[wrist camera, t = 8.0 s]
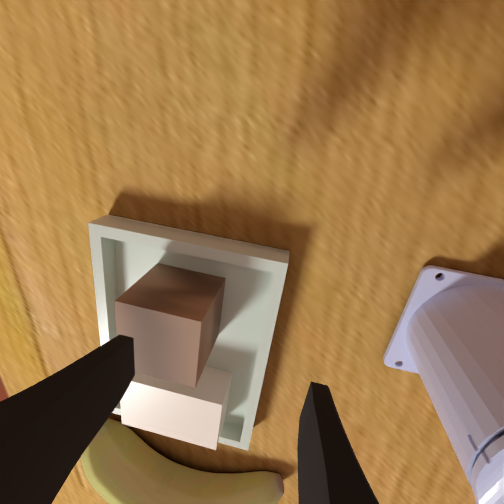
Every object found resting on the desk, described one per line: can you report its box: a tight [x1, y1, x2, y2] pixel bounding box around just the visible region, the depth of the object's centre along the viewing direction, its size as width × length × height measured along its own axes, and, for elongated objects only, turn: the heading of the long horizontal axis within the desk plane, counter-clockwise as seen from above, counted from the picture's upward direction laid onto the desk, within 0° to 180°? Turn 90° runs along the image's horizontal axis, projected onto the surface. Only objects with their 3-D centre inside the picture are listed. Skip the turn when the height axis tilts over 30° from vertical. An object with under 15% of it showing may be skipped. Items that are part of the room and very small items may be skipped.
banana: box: [81, 418, 284, 504], centre depth 28 cm, size 14×6×20 cm
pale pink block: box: [120, 366, 232, 450], centre depth 23 cm, size 8×5×3 cm, turn 82°
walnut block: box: [115, 263, 226, 388], centre depth 19 cm, size 5×5×5 cm
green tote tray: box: [88, 215, 290, 451], centre depth 22 cm, size 13×18×2 cm
